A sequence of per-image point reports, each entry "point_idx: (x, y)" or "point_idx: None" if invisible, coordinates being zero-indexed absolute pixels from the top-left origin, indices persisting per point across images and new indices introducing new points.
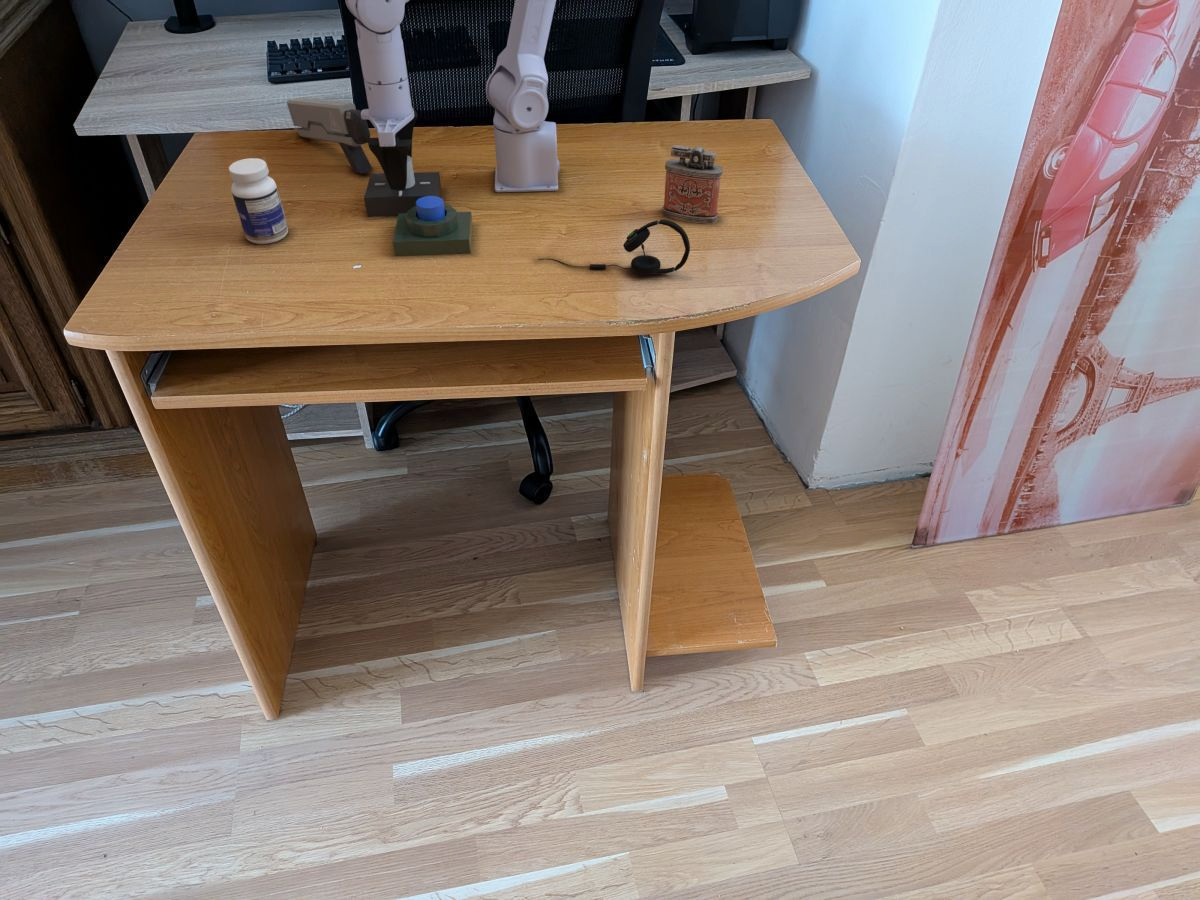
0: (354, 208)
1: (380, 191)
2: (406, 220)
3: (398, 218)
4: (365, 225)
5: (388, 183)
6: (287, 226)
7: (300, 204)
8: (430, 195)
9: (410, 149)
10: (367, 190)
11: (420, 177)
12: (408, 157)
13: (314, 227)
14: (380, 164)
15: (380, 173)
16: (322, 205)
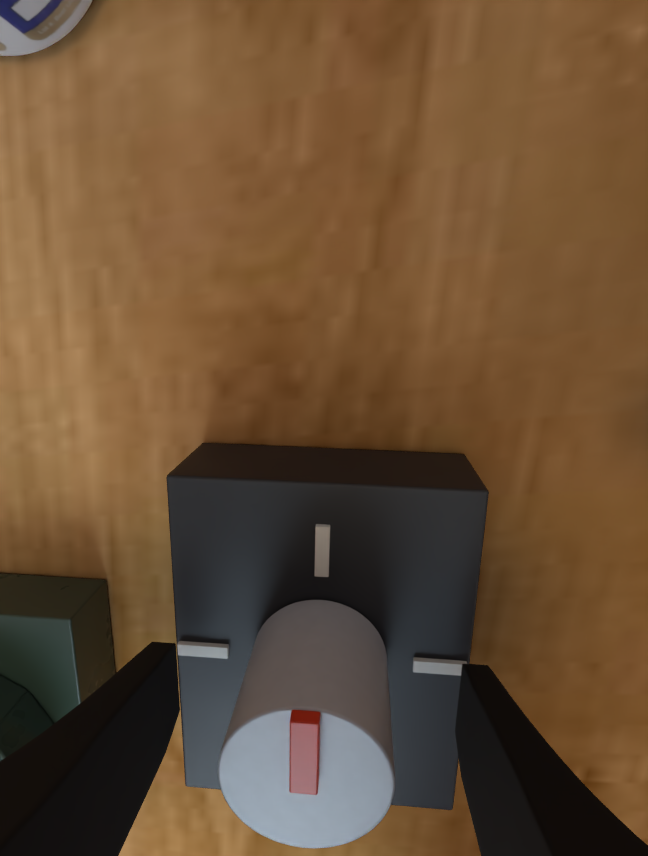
0: (301, 372)
1: (240, 554)
2: (4, 652)
3: (20, 621)
4: (129, 437)
5: (132, 659)
6: (16, 44)
7: (375, 57)
8: (188, 767)
9: (481, 845)
10: (256, 487)
11: (394, 733)
12: (337, 833)
13: (105, 194)
14: (10, 755)
15: (479, 543)
16: (349, 196)
